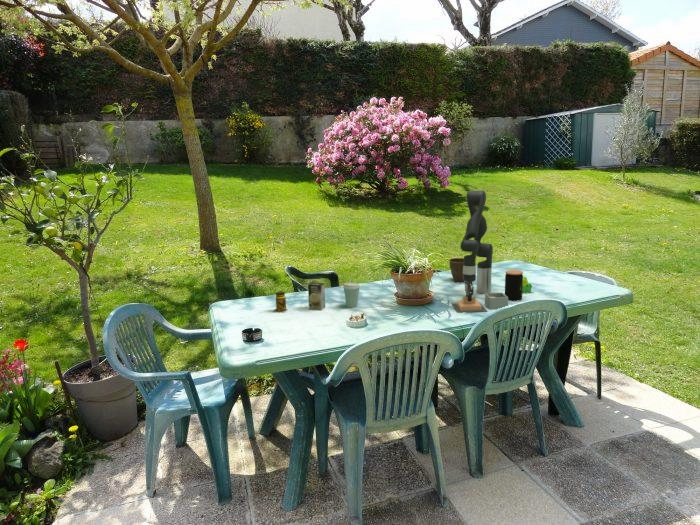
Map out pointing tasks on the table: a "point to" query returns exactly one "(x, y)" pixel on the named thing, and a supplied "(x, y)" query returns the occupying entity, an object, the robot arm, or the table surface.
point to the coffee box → (316, 295)
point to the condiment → (280, 302)
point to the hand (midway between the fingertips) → (468, 300)
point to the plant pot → (457, 269)
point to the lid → (468, 304)
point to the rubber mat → (468, 310)
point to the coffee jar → (513, 284)
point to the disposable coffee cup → (351, 294)
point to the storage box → (496, 300)
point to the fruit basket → (526, 286)
